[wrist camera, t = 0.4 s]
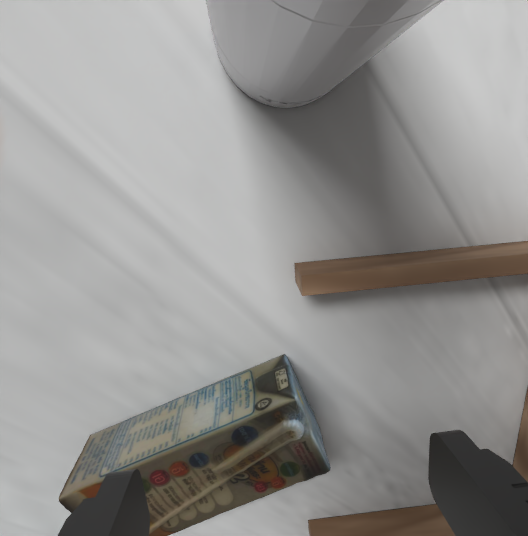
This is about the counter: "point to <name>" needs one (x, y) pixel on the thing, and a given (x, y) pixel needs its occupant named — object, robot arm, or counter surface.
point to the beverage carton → (209, 448)
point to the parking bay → (402, 274)
